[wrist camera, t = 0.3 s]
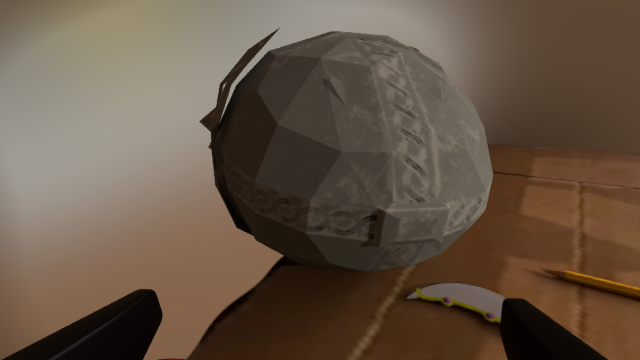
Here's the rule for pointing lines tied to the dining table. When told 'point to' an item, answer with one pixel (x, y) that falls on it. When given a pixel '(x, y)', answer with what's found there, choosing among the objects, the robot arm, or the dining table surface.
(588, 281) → the pencil
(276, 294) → the dining table surface
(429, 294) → the decorative knife
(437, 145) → the helmet
